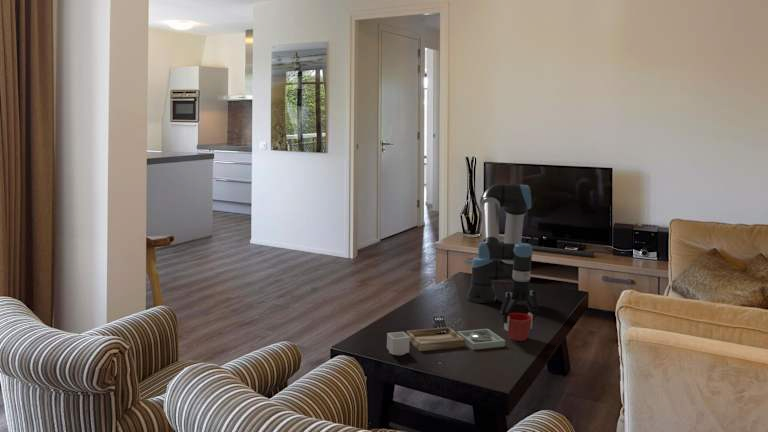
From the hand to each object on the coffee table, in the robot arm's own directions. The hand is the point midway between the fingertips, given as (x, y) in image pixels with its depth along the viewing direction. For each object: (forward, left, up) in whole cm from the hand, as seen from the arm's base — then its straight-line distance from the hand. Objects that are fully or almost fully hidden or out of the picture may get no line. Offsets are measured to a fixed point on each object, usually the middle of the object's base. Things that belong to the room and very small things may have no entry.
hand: (518, 329), depth 256 cm
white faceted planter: (+2, -56, -4) cm, 56 cm away
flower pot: (0, 0, -4) cm, 4 cm away
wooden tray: (-5, -37, -4) cm, 37 cm away
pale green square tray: (0, -18, -4) cm, 18 cm away
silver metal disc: (0, -18, -2) cm, 18 cm away
